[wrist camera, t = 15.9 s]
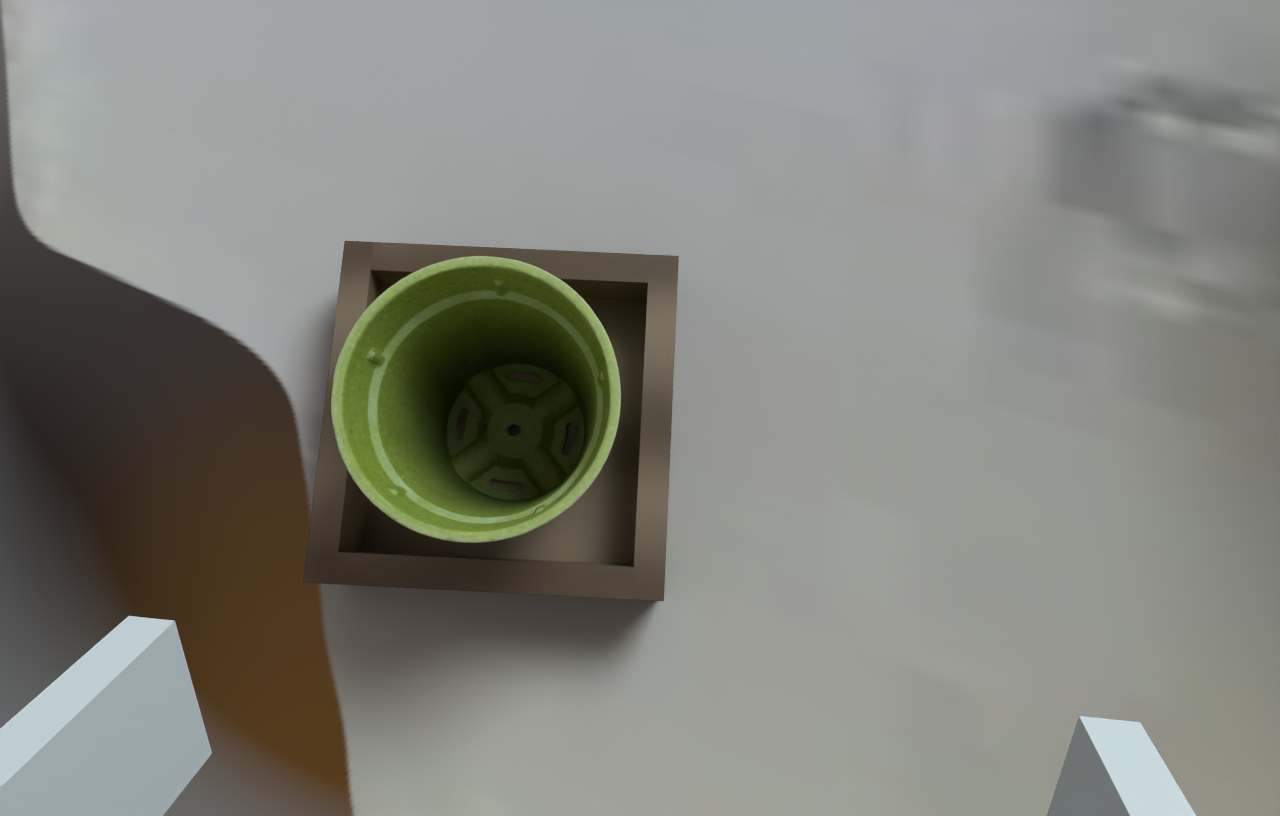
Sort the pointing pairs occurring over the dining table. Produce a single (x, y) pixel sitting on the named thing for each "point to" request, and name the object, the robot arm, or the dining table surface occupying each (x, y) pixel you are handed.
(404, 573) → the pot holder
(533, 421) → the plant pot
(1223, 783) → the dining table surface
